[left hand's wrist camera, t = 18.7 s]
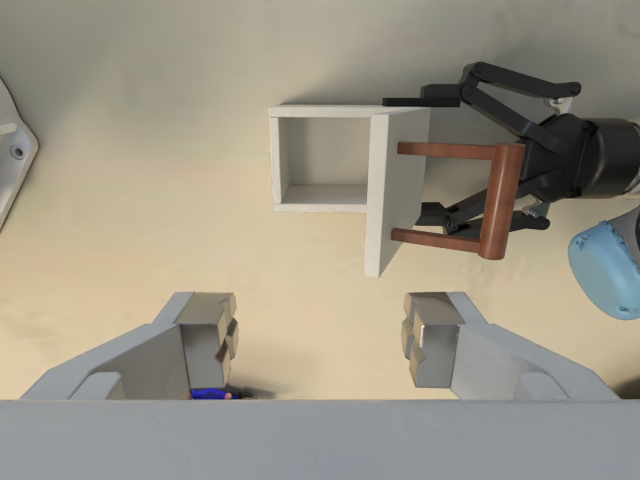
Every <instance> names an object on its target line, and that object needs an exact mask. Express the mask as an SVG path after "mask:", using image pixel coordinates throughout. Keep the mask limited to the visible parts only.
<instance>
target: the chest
mask: <svg viewBox="0 0 640 480" xmlns="http://www.w3.org/2000/svg"><path fill="white" fill-rule="evenodd" d="M412 108H419V107H385V106H382V105H308V104H280V105H276V106H270V107H268V113H269V134H270V157H271V180H272V203H273V212H309V213H366V212H367V191H368V170H369V149H370V129H371V114H376V113H383V112H390V111H398V110H405V109H412Z"/></svg>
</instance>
